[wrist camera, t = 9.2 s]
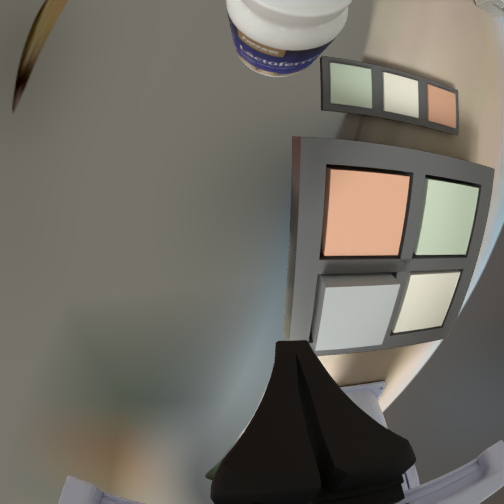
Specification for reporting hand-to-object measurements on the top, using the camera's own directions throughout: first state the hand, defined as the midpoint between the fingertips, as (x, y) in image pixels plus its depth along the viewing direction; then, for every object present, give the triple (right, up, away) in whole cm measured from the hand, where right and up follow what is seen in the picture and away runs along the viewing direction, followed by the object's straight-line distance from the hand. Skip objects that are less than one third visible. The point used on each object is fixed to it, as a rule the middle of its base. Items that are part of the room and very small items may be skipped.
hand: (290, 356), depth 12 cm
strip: (+9, +16, +4) cm, 19 cm away
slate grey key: (+6, +1, +9) cm, 11 cm away
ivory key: (+13, +2, +10) cm, 16 cm away
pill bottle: (0, +19, +3) cm, 19 cm away
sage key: (+12, +8, +7) cm, 17 cm away
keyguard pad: (+9, +5, +9) cm, 14 cm away
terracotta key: (+5, +8, +7) cm, 12 cm away
